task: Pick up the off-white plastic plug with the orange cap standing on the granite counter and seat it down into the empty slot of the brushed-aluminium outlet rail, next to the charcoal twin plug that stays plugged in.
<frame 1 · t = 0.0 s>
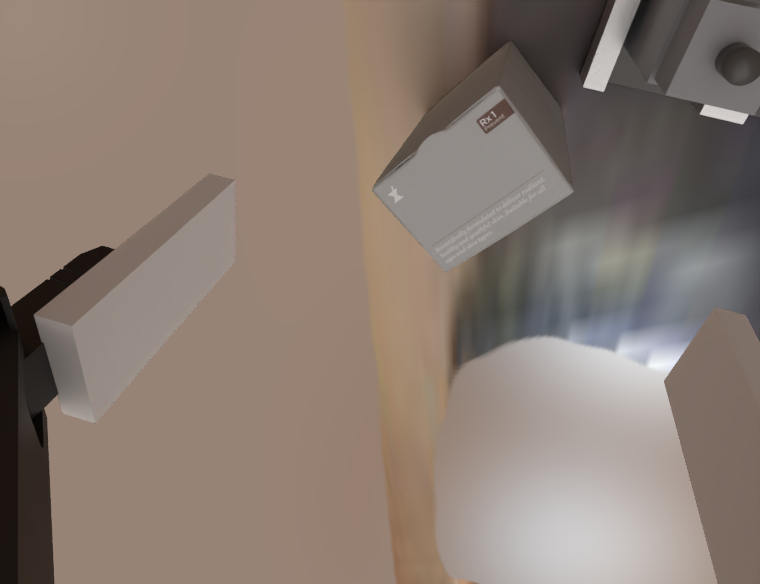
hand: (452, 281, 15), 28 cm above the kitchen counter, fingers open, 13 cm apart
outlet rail: (745, 30, 33), on the kitchen counter
skincare box: (490, 106, 39), on the kitchen counter
twin plug: (677, 16, 33), point 1 cm above the kitchen counter, touching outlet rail
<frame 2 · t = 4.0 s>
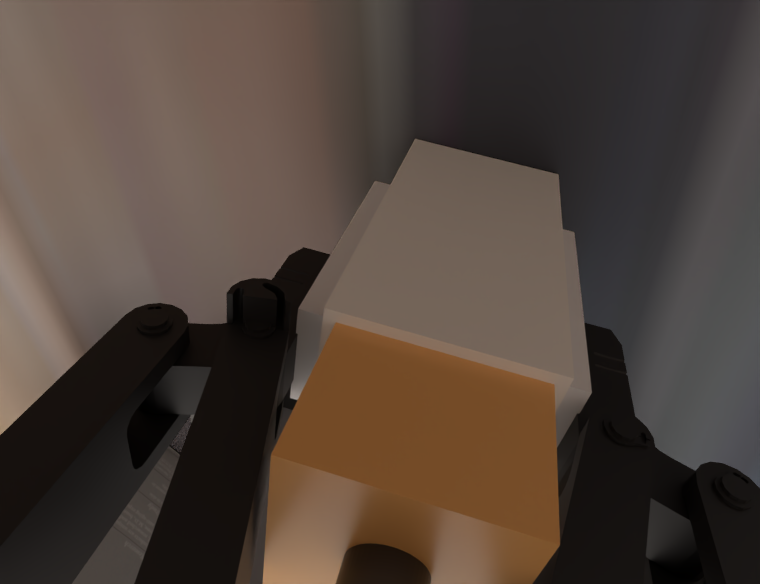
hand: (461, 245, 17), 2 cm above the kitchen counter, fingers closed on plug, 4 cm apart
skincare box: (152, 471, 32), on the kitchen counter
twin plug: (307, 446, 26), point 1 cm above the kitchen counter, touching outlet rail
plug: (467, 219, 18), on the kitchen counter, touching gripper
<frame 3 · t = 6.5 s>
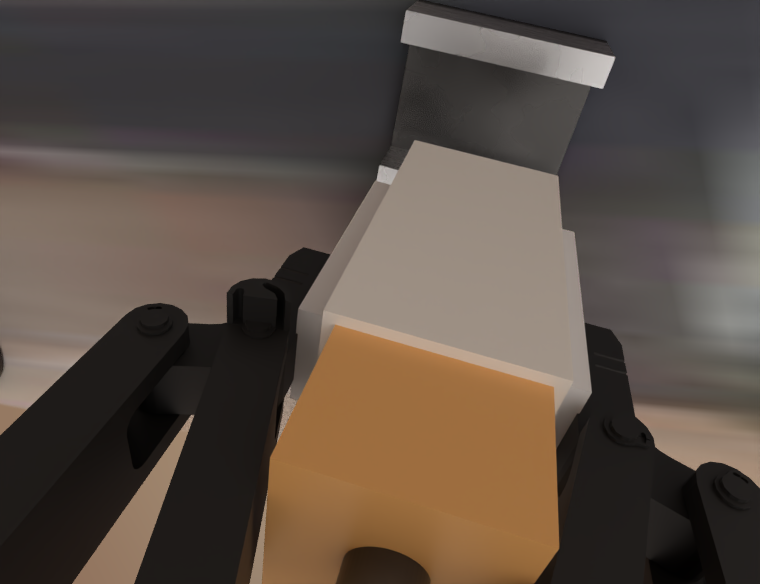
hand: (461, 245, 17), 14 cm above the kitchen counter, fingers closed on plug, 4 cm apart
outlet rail: (465, 182, 31), on the kitchen counter
plug: (466, 220, 18), point 13 cm above the kitchen counter, touching gripper
when the fingers open (3 cm above the kitchen counter, at t = 8.9 s): plug stays where it is, resting on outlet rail.
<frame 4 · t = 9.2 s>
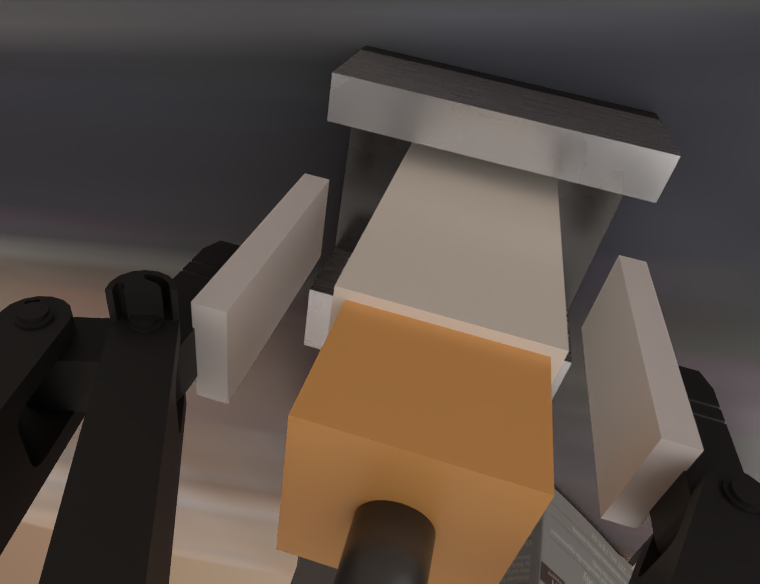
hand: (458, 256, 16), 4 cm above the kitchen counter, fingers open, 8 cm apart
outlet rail: (443, 296, 22), on the kitchen counter
skincare box: (529, 529, 29), on the kitchen counter
twin plug: (419, 379, 24), point 1 cm above the kitchen counter, touching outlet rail
plug: (468, 210, 19), point 1 cm above the kitchen counter, touching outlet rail
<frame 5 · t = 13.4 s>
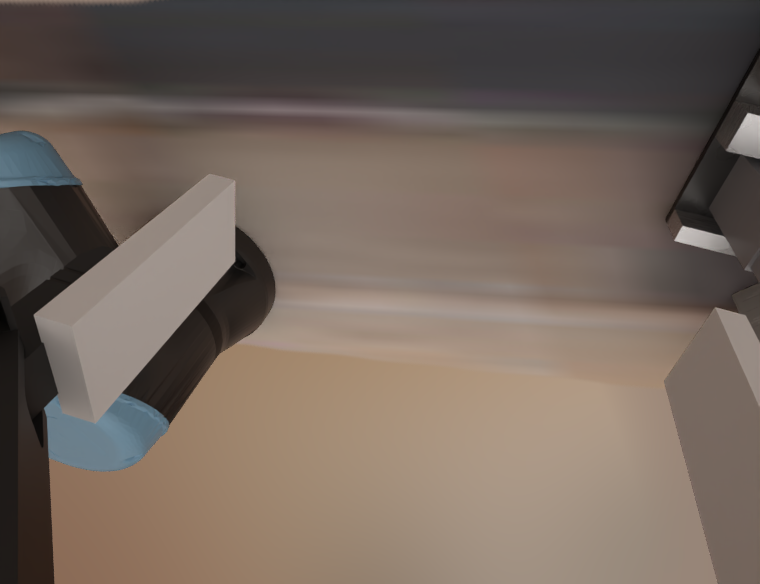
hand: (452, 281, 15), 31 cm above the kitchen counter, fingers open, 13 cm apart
twin plug: (755, 189, 40), point 1 cm above the kitchen counter, touching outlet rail
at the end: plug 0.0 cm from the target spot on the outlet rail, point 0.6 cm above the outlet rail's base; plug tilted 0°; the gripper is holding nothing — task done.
